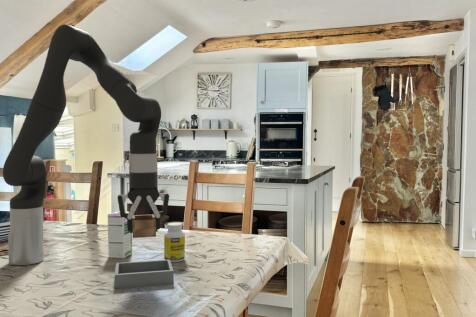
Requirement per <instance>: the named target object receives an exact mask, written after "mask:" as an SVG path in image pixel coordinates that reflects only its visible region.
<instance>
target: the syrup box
mask: <svg viewBox="0 0 476 317" xmlns="http://www.w3.org/2000/svg"><path fill="white" fill-rule="evenodd" d="M129 211H130V210H129ZM129 211H128V210H125V212H126V213H129ZM107 248H108V249H107V250H108V251H107V253H108V258H111V259H125V258H127V257H128V256H131V255H132V254H133V233H130V231H128V229H127V219H126V218H124V217H121V216H120V210H119V211H117V210H116V211H115V212H111V213H108V214H107Z"/></svg>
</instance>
